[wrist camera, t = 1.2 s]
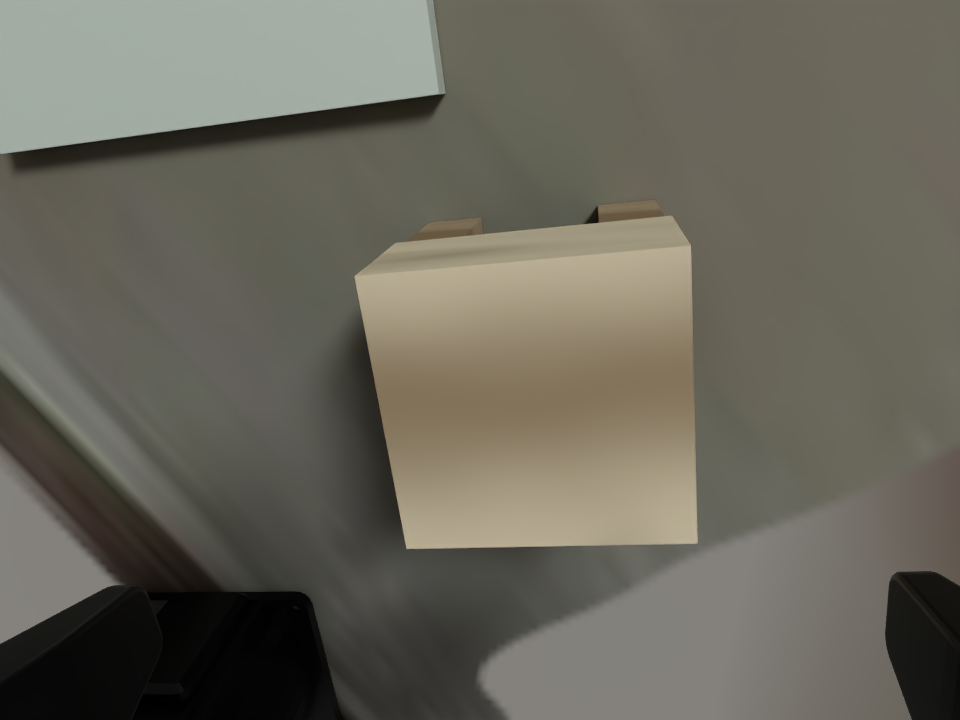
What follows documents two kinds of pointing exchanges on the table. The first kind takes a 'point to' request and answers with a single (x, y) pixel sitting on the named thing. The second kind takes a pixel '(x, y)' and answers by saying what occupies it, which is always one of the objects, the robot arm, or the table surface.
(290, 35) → the board
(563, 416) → the tan box with tabs
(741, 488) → the table surface
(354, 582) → the table surface
